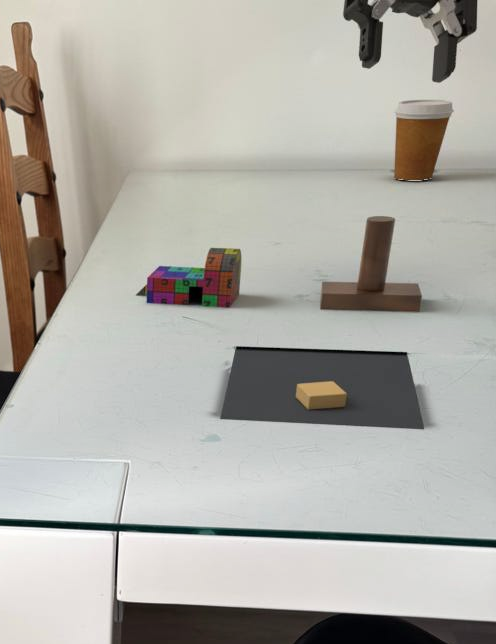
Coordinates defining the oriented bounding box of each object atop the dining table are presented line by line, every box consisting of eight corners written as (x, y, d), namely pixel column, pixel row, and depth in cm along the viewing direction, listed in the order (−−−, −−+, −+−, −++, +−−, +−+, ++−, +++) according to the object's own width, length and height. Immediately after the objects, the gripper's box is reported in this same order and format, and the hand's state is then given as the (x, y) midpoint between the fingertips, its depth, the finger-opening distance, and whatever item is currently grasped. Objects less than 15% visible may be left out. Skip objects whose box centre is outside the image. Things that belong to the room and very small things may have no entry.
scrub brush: (413, 311, 109) (430, 214, 104) (416, 324, 105) (434, 223, 100) (318, 309, 112) (330, 213, 106) (318, 321, 108) (330, 223, 102)
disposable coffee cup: (414, 185, 171) (427, 106, 165) (372, 178, 178) (383, 102, 172) (453, 179, 175) (467, 101, 168) (411, 172, 182) (423, 98, 176)
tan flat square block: (331, 394, 86) (333, 380, 86) (345, 407, 84) (347, 393, 83) (295, 397, 86) (296, 383, 86) (308, 410, 84) (309, 396, 83)
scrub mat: (404, 358, 97) (406, 347, 96) (422, 440, 80) (424, 428, 79) (235, 352, 100) (236, 342, 100) (218, 430, 83) (219, 418, 83)
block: (242, 300, 116) (247, 238, 112) (228, 319, 110) (233, 255, 106) (141, 294, 120) (143, 234, 116) (123, 313, 113) (124, 250, 110)
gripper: (381, -135, 96) (369, 42, 97) (503, -103, 100) (490, 67, 101) (335, -88, 103) (325, 77, 104) (451, -60, 107) (440, 99, 108)
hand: (406, 72), depth 103 cm, fingers open, 8 cm apart
